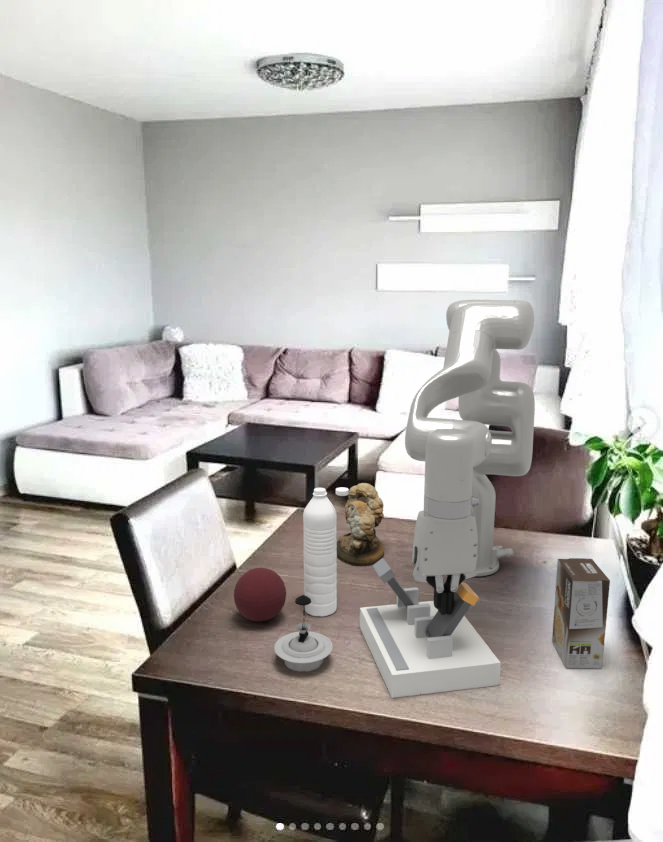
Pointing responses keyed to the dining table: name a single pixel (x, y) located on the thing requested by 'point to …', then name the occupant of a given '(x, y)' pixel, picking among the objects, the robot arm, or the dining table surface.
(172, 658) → the dining table surface
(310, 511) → the water bottle
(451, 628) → the lever
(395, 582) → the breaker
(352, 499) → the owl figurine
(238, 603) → the decorative ball
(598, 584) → the coffee box
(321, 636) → the gray round rimmed fixture
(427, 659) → the box
